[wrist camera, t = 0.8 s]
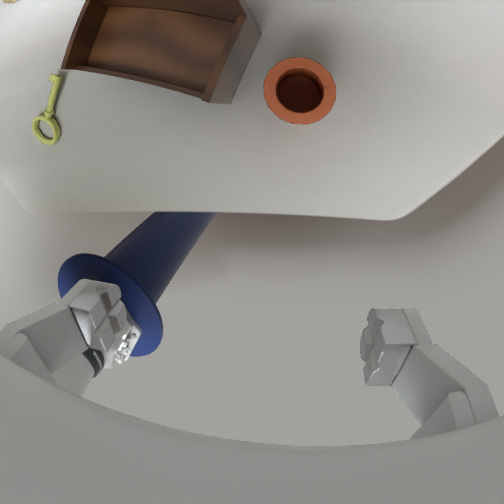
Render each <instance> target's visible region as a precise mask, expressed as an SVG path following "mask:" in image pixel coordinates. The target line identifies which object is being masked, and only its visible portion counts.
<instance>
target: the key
mask: <svg viewBox="0 0 504 504" xmlns="http://www.w3.org/2000/svg"><path fill="white" fill-rule="evenodd" d="M50 76H51V77H50V78H49V80H50V81H52V82H53V85H52V89H51V93H50V97H49V101H48V105H47V109H46V110H45V111H44V114H45V115H39V116H37V117H36V118H35V119H34V120H33V123H32V129H33V132H34V134H35V136H36V137H37V139H38V140H40V141H41V142H42V143H44V144H46V145H53V144H55V143H56V142H57V141H58V140H59V138H60V127H59V125H58V123H57V122H56V120H55V119H53V118H52V117H51V116H52V115H53V114H54V110H53V107H54V103H55V99H56V96H57V92H58V88H59V85H60V81H61V78H62V76H61V75H55V74H50ZM40 119H41V120H44V121H45V122H47V123H48V124H49V125H50V126H51V128H52V129H53V133H54V137H53V139H47V138H45V137H44V136H43V135H42V134H41V132H40V130H39V127H38V123H39V120H40Z"/></svg>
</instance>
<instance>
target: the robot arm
mask: <svg viewBox="0 0 504 504" xmlns="http://www.w3.org/2000/svg"><path fill="white" fill-rule="evenodd" d="M121 295H122V294H121V291H120V288H119V287H118V286H117V285H115V284H110V283H105V282H100V281H93V280H88V279H81V280H80V281H79V282H78V283H77V284H76V285H75V286H74V287H73V288H72V289H71V290H70V291H69V292H68V293H67V294H66V295H65V296H64V297H63V298H62V299H61V300H60V301H59V302H58V303H57V304H56V303H53V304H51V305H48V306H46V307H44V308H42V309H40V310H37V311H35V312H33V313H31V314H28V315H26V316H24V317H22V318H20V319H18V320H15V321H13V322H11V323H9V324H7V325H6V326H5V327H4V328H3V329H2V330H1V331H0V504H504V415H503V416H500V417H499V415H498V412H497V409H496V406H495V404H494V401H493V399H492V396H491V393H490V391H489V388H488V386H487V384H486V383H484V382H483V381H482V380H481V379H480V378H478V377H477V376H476V375H475V374H474V373H472V372H471V371H470V370H469V369H467V368H466V367H465V366H464V365H462V364H461V363H460V362H459V361H457V360H456V359H455V358H454V357H453V356H451V355H450V354H449V353H447V352H446V351H445V350H444V349H442V348H441V347H440V346H439V345H437V344H433V343H432V341H431V339H430V337H429V334H428V332H427V330H426V328H425V325H424V323H423V321H422V319H421V317H420V315H419V313H418V311H417V310H416V309H414V308H410V309H371V310H370V312H369V314H368V317H367V321H368V326H367V327H366V328H365V329H363V332H362V336H361V341H360V354H361V358H362V359H363V360H364V361H365V362H366V363H365V366H364V368H363V372H364V378H365V384H366V386H391V388H392V389H393V390H394V391H395V392H396V394H397V395H398V396H399V397H400V399H401V400H402V401H403V403H404V404H405V405H406V406H407V408H408V409H409V410H410V411H411V412H412V414H413V415H414V416H415V417H416V419H417V420H418V421H419V422H420V424H421V425H422V426H421V427H420V428H419V429H418V430H417V431H416V432H415V433H414V434H413V435H412V437H411V438H410V439H409V440H402V441H395V442H387V443H377V444H366V445H350V446H294V445H277V444H265V443H255V442H247V441H239V440H232V439H225V438H219V437H214V436H208V435H203V434H198V433H193V432H188V431H184V430H180V429H176V428H172V427H168V426H164V425H160V424H157V423H153V422H150V421H146V420H143V419H140V418H136V417H133V416H130V415H127V414H124V413H121V412H118V411H115V410H112V409H110V408H107V407H105V406H102V405H100V404H97V403H94V402H92V401H89V400H87V399H84V398H82V396H83V395H84V393H85V390H86V389H87V387H88V385H89V383H90V381H91V380H92V378H94V377H96V376H97V375H98V374H99V373H100V372H101V370H102V369H103V368H112V367H113V365H114V364H115V362H117V363H119V364H122V362H123V361H127V359H128V358H129V356H130V355H131V353H132V351H133V349H134V347H135V345H136V343H137V341H138V339H139V337H140V336H141V334H142V329H141V327H140V326H139V325H138V324H137V323H136V322H135V321H134V320H133V318H132V317H131V315H130V313H129V311H128V310H127V308H126V307H125V305H124V304H123V303H122V301H121V300H120V297H121Z"/></svg>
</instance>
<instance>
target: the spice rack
mask: <svg viewBox="0 0 504 504" xmlns="http://www.w3.org/2000/svg"><path fill="white" fill-rule="evenodd" d="M261 34H262V33H261V31H260V29H259V27H258V25H257V22H256V20H255V18H254V16H253V14H252V12H251V10H250V8H249V6H248V4H247V2H246V0H86V1H85V3H84V5H83V8H82V10H81V12H80V15H79V17H78V19H77V22H76V24H75V27H74V30H73V32H72V35H71V38H70V41H69V44H68V47H67V50H66V53H65V56H64V59H63V62H62V66H61V69H64V70H81V71H88V72H94V73H100V74H106V75H111V76H116V77H121V78H126V79H131V80H135V81H139V82H144V83H148V84H152V85H156V86H160V87H164V88H167V89H171V90H174V91H178V92H181V93H185V94H188V95H191V96H195V97H198V98H201V99H202V101H205V102H208V103H224V104H231V101H232V99H233V96H234V94H235V92H236V89H237V87H238V85H239V82H240V80H241V78H242V75H243V73H244V71H245V69H246V66H247V64H248V62H249V60H250V57H251V55H252V53H253V51H254V49H255V47H256V44H257V42H258V40H259V38H260V36H261Z"/></svg>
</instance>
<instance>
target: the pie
mask: <svg viewBox="0 0 504 504" xmlns="http://www.w3.org/2000/svg"><path fill="white" fill-rule="evenodd" d="M2 1H3V2H5V3H13V2H16V1H18V0H2Z"/></svg>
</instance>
